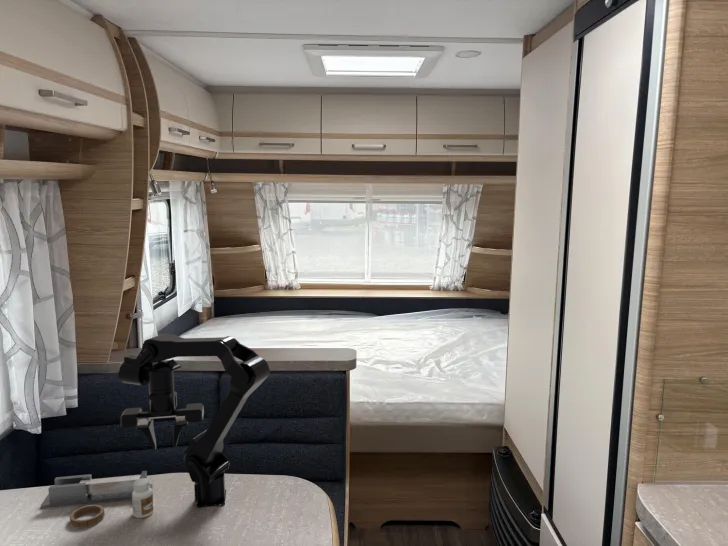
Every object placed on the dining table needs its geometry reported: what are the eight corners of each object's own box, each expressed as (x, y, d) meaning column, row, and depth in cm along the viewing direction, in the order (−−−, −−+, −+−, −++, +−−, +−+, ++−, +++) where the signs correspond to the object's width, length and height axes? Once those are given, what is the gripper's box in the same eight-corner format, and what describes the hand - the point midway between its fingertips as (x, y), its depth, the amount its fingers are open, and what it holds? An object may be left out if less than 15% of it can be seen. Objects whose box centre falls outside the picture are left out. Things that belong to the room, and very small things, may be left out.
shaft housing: (152, 486, 144) (151, 468, 143) (148, 497, 139) (147, 479, 138) (48, 496, 140) (47, 478, 139) (40, 508, 134) (39, 489, 134)
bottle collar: (107, 509, 134) (106, 503, 134) (99, 525, 127) (99, 519, 127) (75, 512, 133) (75, 506, 132) (66, 529, 126) (66, 522, 126)
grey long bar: (147, 484, 143) (146, 470, 142) (144, 491, 139) (143, 477, 139) (82, 490, 140) (81, 476, 139) (78, 498, 136) (77, 484, 136)
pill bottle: (146, 519, 129) (144, 487, 128) (129, 517, 130) (127, 485, 129) (157, 509, 134) (155, 477, 133) (140, 507, 135) (138, 476, 134)
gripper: (204, 374, 148) (207, 431, 150) (127, 379, 144) (131, 438, 147) (200, 388, 137) (203, 450, 139) (117, 394, 134) (121, 457, 136)
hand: (165, 448), depth 140 cm, fingers open, 4 cm apart
